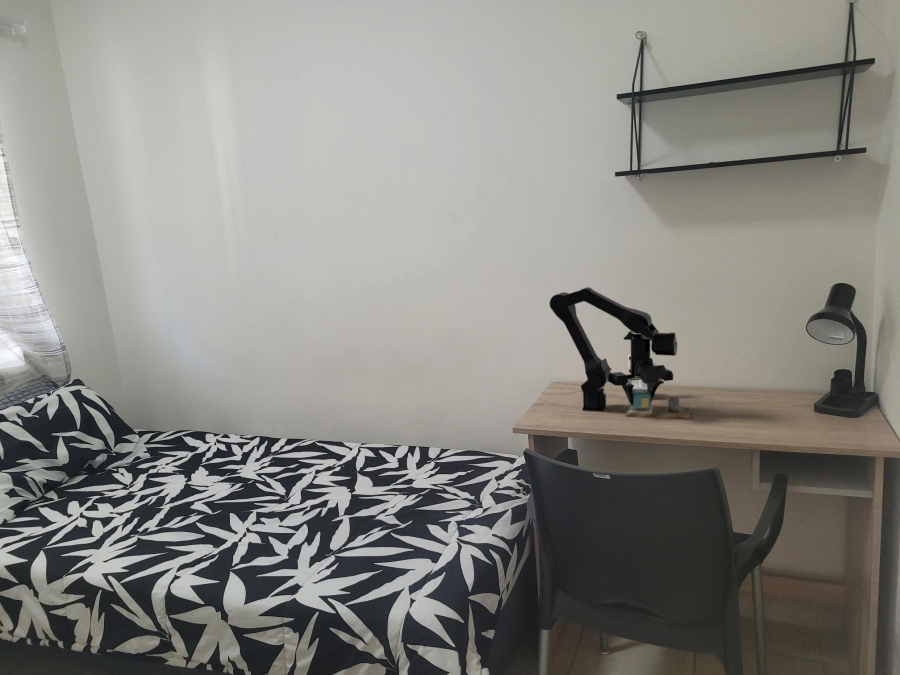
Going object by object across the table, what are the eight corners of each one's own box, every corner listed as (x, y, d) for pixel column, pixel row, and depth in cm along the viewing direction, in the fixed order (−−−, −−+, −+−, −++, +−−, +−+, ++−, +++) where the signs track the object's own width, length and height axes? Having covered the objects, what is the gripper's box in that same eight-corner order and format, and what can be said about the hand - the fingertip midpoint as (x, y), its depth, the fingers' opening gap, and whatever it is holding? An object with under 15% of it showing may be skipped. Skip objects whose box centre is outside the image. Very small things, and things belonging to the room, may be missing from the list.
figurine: (658, 400, 202) (657, 355, 200) (628, 399, 205) (627, 355, 203) (658, 394, 209) (658, 350, 206) (629, 393, 212) (628, 350, 209)
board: (625, 416, 187) (625, 400, 186) (628, 407, 197) (628, 392, 196) (689, 419, 181) (689, 403, 180) (689, 410, 190) (689, 394, 189)
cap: (628, 403, 192) (628, 391, 192) (644, 401, 193) (644, 389, 193) (636, 408, 187) (636, 395, 186) (653, 406, 188) (653, 393, 187)
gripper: (622, 362, 178) (623, 414, 181) (683, 356, 181) (682, 407, 184) (607, 354, 189) (607, 404, 192) (664, 349, 192) (664, 398, 194)
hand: (640, 403), depth 190 cm, fingers closed on cap, 6 cm apart
